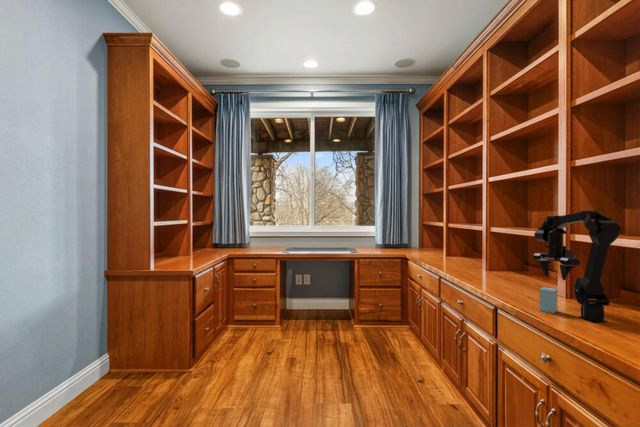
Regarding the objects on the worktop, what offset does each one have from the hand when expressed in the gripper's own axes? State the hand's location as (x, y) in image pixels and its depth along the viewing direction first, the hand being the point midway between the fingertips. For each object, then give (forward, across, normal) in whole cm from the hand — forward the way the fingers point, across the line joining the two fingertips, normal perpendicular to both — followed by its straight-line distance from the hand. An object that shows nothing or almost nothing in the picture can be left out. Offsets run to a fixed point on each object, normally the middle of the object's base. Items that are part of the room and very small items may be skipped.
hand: (555, 277), depth 146 cm
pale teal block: (+12, -8, +11) cm, 18 cm away
